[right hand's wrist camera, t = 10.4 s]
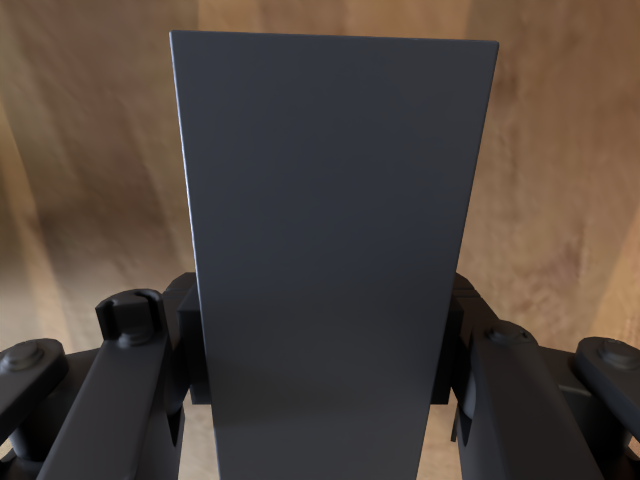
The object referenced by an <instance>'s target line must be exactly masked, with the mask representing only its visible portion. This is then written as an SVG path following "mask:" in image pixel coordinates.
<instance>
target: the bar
mask: <svg viewBox="0 0 640 480" xmlns="http://www.w3.org/2000/svg"><path fill="white" fill-rule="evenodd" d="M169 37H170V46H171V54H172V63H173V72H174V81H175V90H176V99H177V107H178V116H179V125H180V134H181V143H182V152H183V160H184V169H185V178H186V187H187V196H188V205H189V213H190V222H191V231H192V240H193V249H194V258H195V266H196V275H197V284H198V293H199V302H200V311H201V319H202V328H203V337H204V346H205V355H206V364H207V372H208V381H209V390H210V399H211V408H212V417H213V425H214V434H215V443H216V452H217V461H218V470H219V478H220V480H416V477H417V472H418V467H419V462H420V457H421V451H422V446H423V441H424V436H425V430H426V425H427V420H428V415H429V410H430V404H431V399H432V394H433V389H434V383H435V378H436V373H437V368H438V363H439V357H440V352H441V347H442V342H443V336H444V331H445V326H446V321H447V316H448V310H449V305H450V300H451V295H452V290H453V284H454V279H455V274H456V269H457V263H458V258H459V253H460V248H461V243H462V237H463V232H464V227H465V222H466V216H467V211H468V206H469V201H470V196H471V190H472V185H473V180H474V175H475V170H476V164H477V159H478V154H479V149H480V143H481V138H482V133H483V128H484V123H485V117H486V112H487V107H488V102H489V96H490V91H491V86H492V81H493V76H494V70H495V65H496V60H497V55H498V50H499V42H497V41H486V40H457V39H427V38H397V37H367V36H337V35H308V34H278V33H248V32H218V31H188V30H172V31H170V34H169Z"/></svg>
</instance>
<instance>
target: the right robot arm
mask: <svg viewBox="0 0 640 480" xmlns="http://www.w3.org/2000/svg"><path fill="white" fill-rule="evenodd" d="M95 310H96V313H97V317H98V321H99V324H100V328H101V332H102V335H103V339H104V342H103V344H102V346H101V348H97V349H93V350H88V351H83V352H77V353H72V354H67V355H65V352H64V349H63V346H62V344H61V343H60V342H59V341H57V340H55V339H48V338H44V339H34V340H29V341H26V342H21V343H18V344H16V345H14V346H13V347H10V348H8V349H6V350H4V351H2V352H1V353H0V446H1V445H2V444H3V443H4V442H5V441H6V439H7V438H8V437H9V440H10V442H11V444H12V446H13V448H12V449H11V450H10V451H9V452H8V454H7V455H6V456H4V457H3V458H2V459H1V460H0V480H178V473H179V464H180V456H181V448H182V439H183V431H184V423H185V414H184V408H183V401H184V398H185V396H186V394H187V392H188V389H189V388H190V394H191V400H192V404H211V399H210V390H209V381H208V372H207V364H206V355H205V346H204V337H203V328H202V319H201V311H200V302H199V293H198V284H197V275H196V272H186V273H184V274H183V275H181V276H179V277H178V278H176V279H174V280H173V281H172V282H171V284H170V285H169V286H168V287H167V289H166V291H164V293H163V294H161V293H159V292H158V291H156V290H151V289H133V290H128V291H123V292H121V293H118V294H115V295H112V296H110V297H108V298H107V299H105V300H103V301H102V302H101V303H100V304H99V305H98V306H97V307H96V308H95ZM451 387H452V389H453V391H454V394H455V396H456V398H457V400H458V403H457V408H456V414H455V419H454V424H453V429H452V435H451V441H452V442H456V437H457V438H458V447H459V455H460V463H461V472H462V480H640V458H639V457H638V456H637V455H636V454H635V453H634V452H633V451H632V450H631V449H630V448H629V447H628V445H629V443H630V440H631V438H632V436H634V437H635V439H636V440H637V441H638V442H639V443H640V350H638V349H637V348H634V347H632V346H630V345H628V344H626V343H624V342H622V341H619V340H615V339H611V338H602V337H588V338H584V339H583V340H581V341H580V342H579V344H578V347H577V350H576V353H571V352H566V351H561V350H556V349H551V348H546V347H542V346H539V345H538V343H537V341H536V339H535V338H534V337H533V336H532V334H531V333H530V332H528V331H527V330H525V329H524V328H522V327H521V326H519V325H516V324H514V323H511V322H509V321H504V320H500V319H499V318H498V317H497V316H496V314H495V313H494V312H493V311H492V309H491V308H490V307H489V306H488V304H487V303H486V302H485V301H484V299H483V298H481V296H480V294H479V293H478V292H477V291H476V290H475V289H474V287H473V286H472V284H471V283H470V282H469V281H468V279H466V278H465V277H463V276H461V275H460V274H458V273H456V274H455V279H454V284H453V290H452V295H451V300H450V305H449V310H448V316H447V321H446V326H445V331H444V336H443V342H442V347H441V352H440V357H439V363H438V368H437V373H436V378H435V383H434V389H433V394H432V399H431V404H448V401H449V395H450V390H451Z"/></svg>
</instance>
